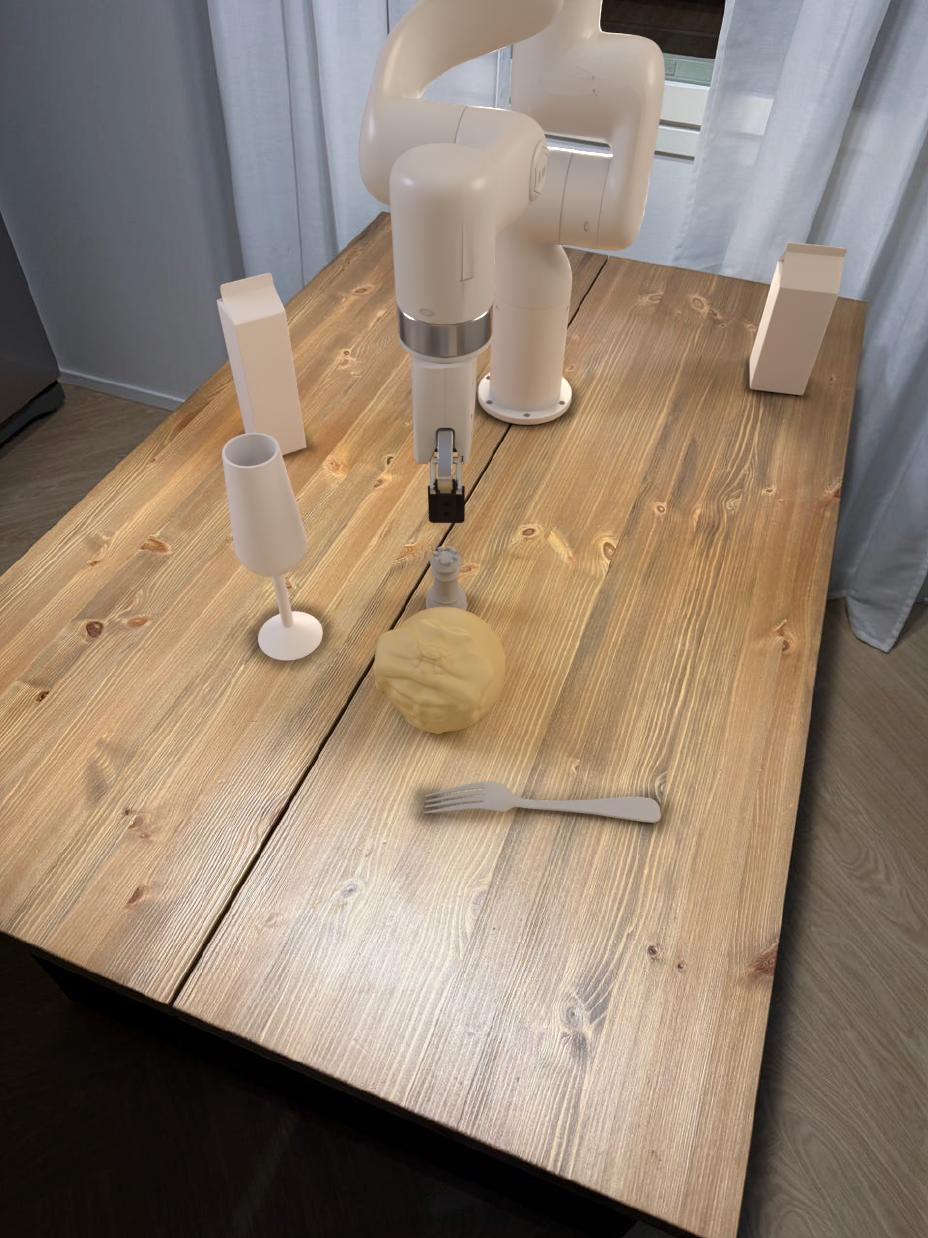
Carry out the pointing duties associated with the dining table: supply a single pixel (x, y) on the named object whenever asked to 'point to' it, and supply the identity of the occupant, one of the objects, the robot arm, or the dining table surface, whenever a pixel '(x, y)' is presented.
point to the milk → (262, 360)
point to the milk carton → (795, 317)
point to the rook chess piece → (446, 580)
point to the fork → (547, 803)
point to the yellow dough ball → (441, 669)
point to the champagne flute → (269, 536)
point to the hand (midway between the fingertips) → (447, 484)
